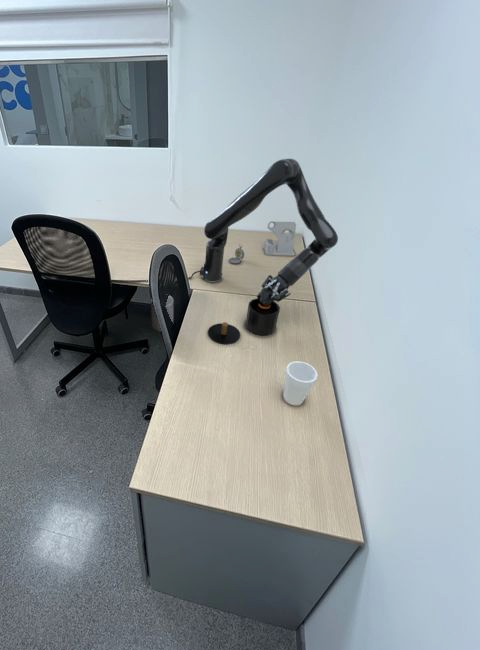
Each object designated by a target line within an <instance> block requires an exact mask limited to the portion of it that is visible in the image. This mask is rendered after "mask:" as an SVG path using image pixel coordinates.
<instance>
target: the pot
mask: <svg viewBox="0 0 480 650" xmlns="http://www.w3.org/2000/svg"><path fill="white" fill-rule="evenodd" d="M259 301H260V299H258V298H257V297H256V298H253V299H251V300H249V302H248V306H247V312H246V317H245V323H244V327H245V330H246V331H248V332H249V333H250V334H252V335H255V336H257V337H258V336H260V337H267V336H271V335H273V334H274V333H275V331H276V327H277V323H278V320H279V315H280V311H281V307H280V305H279V304H278V302H277V301H273V302H272V303H271V306H270V310H269V311H267V312H262V311H260V310H259V309H258V306H259Z"/></svg>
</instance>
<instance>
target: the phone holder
mask: <svg viewBox="0 0 480 650" xmlns="http://www.w3.org/2000/svg"><path fill="white" fill-rule="evenodd" d="M270 224H273V226H272V227H271V226H270ZM267 229H268V230H269V231H270V232H272V234H274V235H275V236H277V245H276V243H275V240H274V239H272V238H267V239H265V243H264V249H263V250H264V252H265V255H267V256H283V257H284V256H288V257H294V256H295V255H296V253H295V251H294V244H295V239H296V237H295V236H296V229H297V223H296V222H295V221H278V220H277V221H273V220H272V221H269V222H268V223H267ZM286 231H288V233H287V234H285V232H286Z"/></svg>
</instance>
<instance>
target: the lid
mask: <svg viewBox="0 0 480 650" xmlns="http://www.w3.org/2000/svg"><path fill="white" fill-rule="evenodd" d="M207 336H208V338H209V339H210V340H211V341H213V342H214V343H216V344H220V345H225V346H226V345H232V344H235V343H236V342H238V341H239V340H240V338H241V332H240V331H239V329H238V328H237V327H236V326H234V325H232V324H229V323H228V322H226V321H224V322H222V323H221V322H219V323H215V324H212V325H211V326H210V327H209V328H208V329H207Z"/></svg>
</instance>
